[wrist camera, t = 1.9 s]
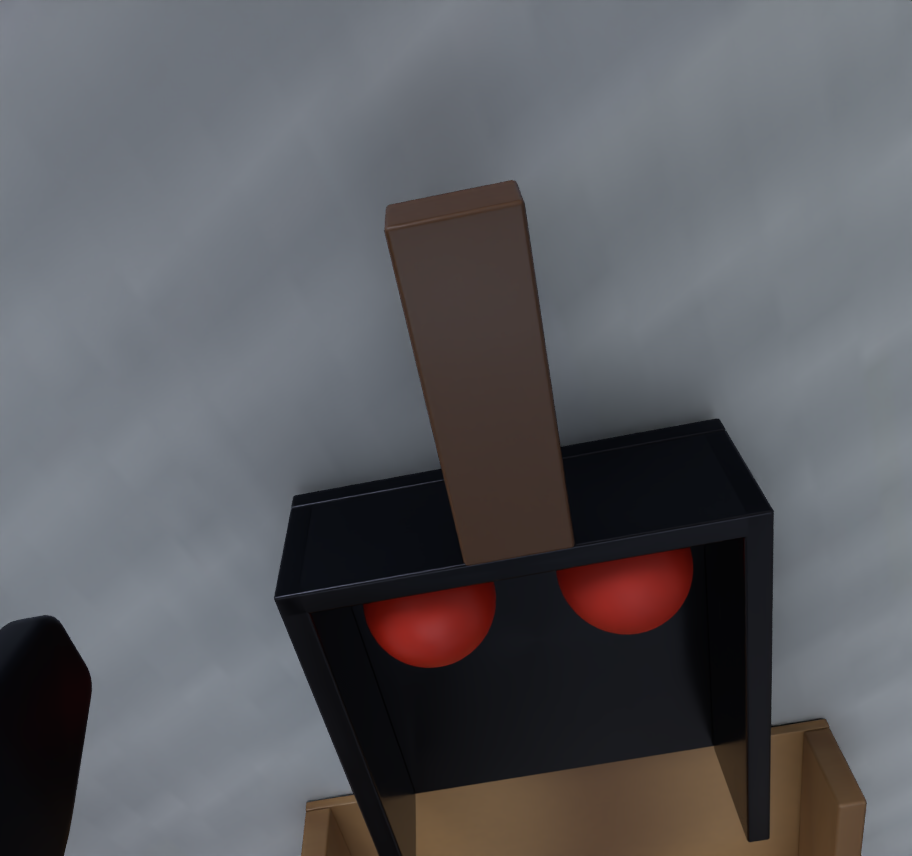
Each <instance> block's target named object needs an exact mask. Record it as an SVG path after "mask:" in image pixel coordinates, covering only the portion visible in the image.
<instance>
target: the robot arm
mask: <svg viewBox="0 0 912 856" xmlns="http://www.w3.org/2000/svg"><path fill="white" fill-rule="evenodd" d="M91 693H92V682H91V676H90V673H89V670H88V668H87V666H86V664H85V662H84V661H83V659H82V657H81V656H80V654H79V652H78V651H77V649H76V647H75V646H74V644H73V642H72V641H71V639H70V637H69V636H68V634H67V632H66V631H65V629H64V627H63V626H62V624H61V623H60V621H59V620H57V619H56V618H55V617H53V616H48V615H43V616H37V617H32V618H26V619H21V620H16V621H13V622H10V623H8V624H7V625H5V626H4V627H3V628H2V629H1V630H0V856H64V852H65V848H66V844H67V840H68V836H69V831H70V825H71V820H72V815H73V809H74V803H75V796H76V790H77V784H78V777H79V771H80V764H81V758H82V752H83V745H84V739H85V733H86V726H87V720H88V713H89V707H90V701H91Z"/></svg>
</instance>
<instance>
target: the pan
mask: <svg viewBox="0 0 912 856" xmlns="http://www.w3.org/2000/svg"><path fill="white" fill-rule="evenodd" d="M384 232H385V236H386V240H387V244H388V249H389V253H390V257H391V261H392V265H393V269H394V274H395V278H396V282H397V286H398V290H399V294H400V299H401V303H402V307H403V311H404V315H405V319H406V324H407V328H408V332H409V336H410V340H411V344H412V349H413V353H414V357H415V361H416V365H417V369H418V374H419V378H420V382H421V386H422V390H423V394H424V398H425V403H426V407H427V411H428V415H429V419H430V423H431V428H432V432H433V436H434V440H435V444H436V448H437V453H438V457H439V461H440V465H441V469H438V470H432V471H427V472H421V473H416V474H410V475H405V476H399V477H394V478H388V479H383V480H377V481H372V482H366V483H361V484H355V485H350V486H344V487H339V488H333V489H328V490H322V491H317V492H312V493H306V494H301V495H295V496H294V497H293V501H292V507H291V512H290V517H289V523H288V528H287V533H286V538H285V544H284V549H283V554H282V559H281V565H280V570H279V575H278V580H277V586H276V591H275V596H274V600H275V602H276V605H277V607H278V609H279V612H280V614H281V617H282V619H283V622H284V624H285V627H286V629H287V632H288V634H289V636H290V639H291V641H292V644H293V646H294V649H295V651H296V654H297V656H298V659H299V661H300V664H301V666H302V668H303V671H304V673H305V676H306V678H307V681H308V683H309V686H310V688H311V691H312V693H313V695H314V698H315V700H316V703H317V705H318V708H319V710H320V713H321V715H322V718H323V720H324V723H325V725H326V727H327V730H328V732H329V735H330V737H331V740H332V742H333V745H334V747H335V750H336V752H337V754H338V757H339V759H340V762H341V764H342V767H343V769H344V772H345V774H346V777H347V779H348V782H349V784H350V786H351V789H352V791H353V794H354V796H355V799H356V801H357V804H358V806H359V809H360V811H361V813H362V816H363V818H364V821H365V823H366V826H367V828H368V831H369V833H370V836H371V838H372V841H373V843H374V845H375V848H376V850H377V853H378V855H379V856H416V795H415V794H419V793H425V792H431V791H437V790H444V789H450V788H456V787H462V786H468V785H475V784H481V783H487V782H493V781H500V780H506V779H512V778H518V777H525V776H531V775H537V774H543V773H550V772H556V771H562V770H568V769H574V768H581V767H587V766H593V765H599V764H606V763H612V762H618V761H624V760H631V759H637V758H643V757H649V756H655V755H662V754H668V753H674V752H680V751H687V750H693V749H699V748H705V747H712V746H714V750H715V753H716V755H717V758H718V761H719V764H720V767H721V769H722V772H723V775H724V778H725V781H726V783H727V786H728V789H729V792H730V794H731V797H732V800H733V803H734V806H735V808H736V811H737V814H738V817H739V820H740V822H741V825H742V828H743V831H744V834H745V836H746V839H747V841H748V842H756V841H763V840H768V839H770V779H771V694H772V609H773V524H774V511H773V509H772V507H771V506H770V504H769V502H768V501H767V499H766V497H765V496H764V494H763V492H762V491H761V489H760V487H759V485H758V484H757V482H756V480H755V479H754V477H753V475H752V474H751V472H750V470H749V469H748V467H747V465H746V464H745V462H744V460H743V459H742V457H741V455H740V453H739V452H738V450H737V448H736V447H735V445H734V443H733V442H732V440H731V438H730V437H729V435H728V433H727V432H726V431H725V428H724V426H723V424H722V423H721V421H720V419H712V420H706V421H701V422H695V423H690V424H684V425H679V426H673V427H668V428H662V429H657V430H651V431H646V432H640V433H635V434H629V435H624V436H619V437H613V438H608V439H602V440H597V441H591V442H586V443H580V444H575V445H569V446H564V447H561V446H560V440H559V433H558V426H557V419H556V412H555V406H554V399H553V392H552V385H551V379H550V372H549V365H548V358H547V351H546V345H545V338H544V331H543V324H542V318H541V311H540V304H539V297H538V290H537V284H536V277H535V270H534V263H533V257H532V250H531V243H530V236H529V229H528V223H527V216H526V209H525V203H524V200H523V198H522V195H521V192H520V190H519V187H518V184H517V183H516V181H513V180H510V181H505V182H500V183H495V184H490V185H485V186H480V187H475V188H470V189H465V190H460V191H455V192H451V193H446V194H441V195H436V196H431V197H426V198H421V199H416V200H411V201H406V202H401V203H396V204H391V205H388V206H387V207H386V215H385V230H384ZM689 547H690V549H691V553H692V558H693V578H692V583H691V587H690V590H689V593H688V596H687V597H686V599H685V601H684V603H683V605H682V606H681V607H680V609H679V610H678V611H677V612H676V613H675V615H674V616H673V617H671V618H670V619H669V620H668V621H667V622H665V623H664V624H662V625H660V626H659V627H657V628H654V629H652V630H649V631H647V632H643V633H638V634H630V635H627V634H614V633H610V632H606V631H603V630H601V629H598V628H596V627H594V626H592V625H590V624H589V623H587V622H586V621H585V620H583V619H582V618H581V617H580V616H578V615H577V614H576V613H575V612H574V610H573V609H572V608H571V607H570V605H569V604H568V603H567V601H566V599H565V598H564V596H563V594H562V591H561V589H560V586H559V584H558V580H557V574H556V571H557V570H563V569H568V568H574V567H580V566H586V565H591V564H597V563H603V562H609V561H614V560H620V559H626V558H632V557H637V556H643V555H649V554H655V553H660V552H666V551H672V550H678V549H683V548H689ZM488 582H494V585H495V590H496V609H495V615H494V618H493V621H492V624H491V627H490V629H489V631H488V633H487V635H486V636H485V638H484V639H483V641H482V642H481V643H480V645H479V646H478V647H477V648H476V649H475V650H474V651H473V652H471V653H470V654H469V655H467V656H466V657H464V658H463V659H461V660H459V661H457V662H455V663H453V664H450V665H447V666H442V667H436V668H422V667H416V666H412V665H408V664H406V663H403V662H401V661H399V660H397V659H395V658H394V657H392V656H391V655H389V654H388V653H387V652H386V651H385V650H384V649H383V648H382V647H381V646H380V645H379V644H378V643H377V642H376V640H375V639H374V637H373V636H372V634H371V632H370V630H369V628H368V626H367V623H366V619H365V615H364V609H363V604H367V603H373V602H379V601H385V600H390V599H396V598H402V597H408V596H413V595H419V594H425V593H431V592H436V591H442V590H448V589H454V588H459V587H465V586H471V585H477V584H482V583H488Z"/></svg>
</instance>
